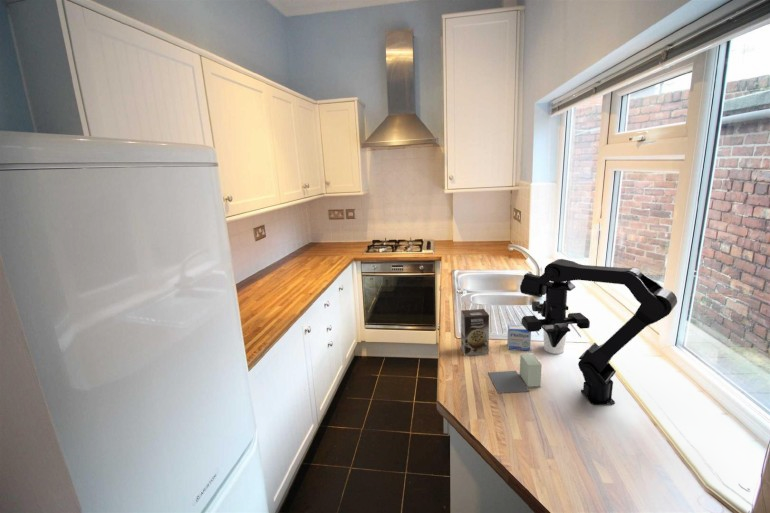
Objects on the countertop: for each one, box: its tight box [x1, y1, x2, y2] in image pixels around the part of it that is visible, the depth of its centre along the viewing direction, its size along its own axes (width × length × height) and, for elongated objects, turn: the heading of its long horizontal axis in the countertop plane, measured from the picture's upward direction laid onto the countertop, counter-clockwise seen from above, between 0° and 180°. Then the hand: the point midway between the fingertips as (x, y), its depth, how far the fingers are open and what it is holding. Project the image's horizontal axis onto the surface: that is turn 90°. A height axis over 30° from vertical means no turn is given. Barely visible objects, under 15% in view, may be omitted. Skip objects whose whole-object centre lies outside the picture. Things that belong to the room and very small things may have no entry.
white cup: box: [542, 328, 567, 355], centre depth 129 cm, size 8×8×10 cm
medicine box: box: [507, 324, 532, 351], centre depth 133 cm, size 8×4×9 cm, turn 76°
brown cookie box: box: [460, 308, 490, 357], centre depth 131 cm, size 9×6×16 cm
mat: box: [488, 370, 530, 394], centre depth 114 cm, size 9×11×1 cm
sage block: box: [519, 352, 543, 389], centre depth 113 cm, size 4×7×8 cm, turn 0°
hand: (553, 346), depth 111 cm, fingers closed
